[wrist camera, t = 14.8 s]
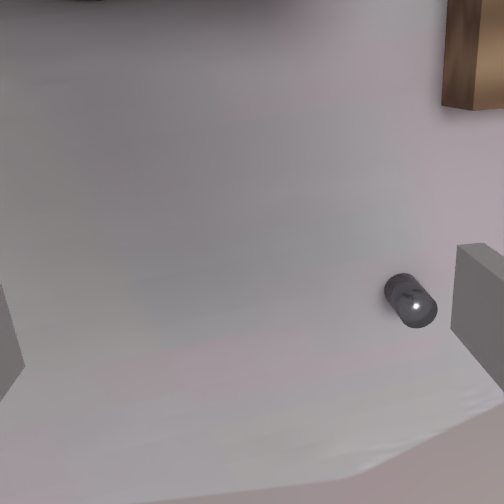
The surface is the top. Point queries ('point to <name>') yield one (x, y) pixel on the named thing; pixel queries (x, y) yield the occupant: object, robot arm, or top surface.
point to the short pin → (410, 301)
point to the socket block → (474, 55)
